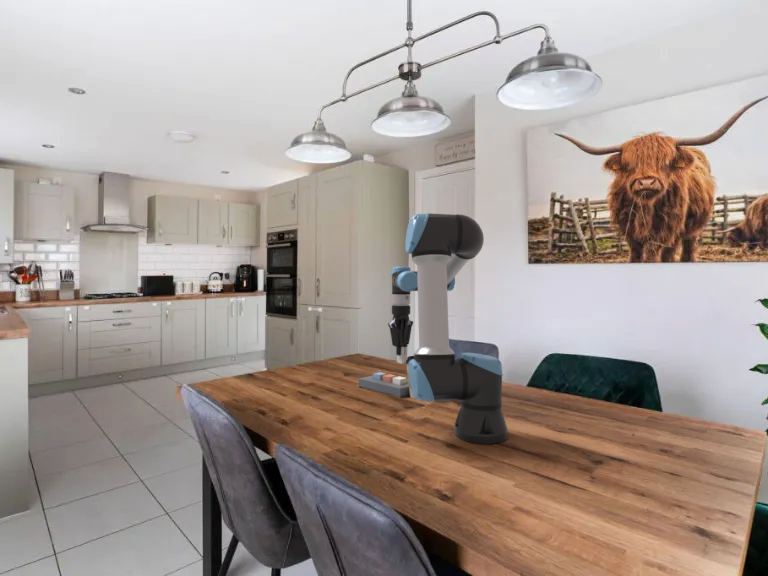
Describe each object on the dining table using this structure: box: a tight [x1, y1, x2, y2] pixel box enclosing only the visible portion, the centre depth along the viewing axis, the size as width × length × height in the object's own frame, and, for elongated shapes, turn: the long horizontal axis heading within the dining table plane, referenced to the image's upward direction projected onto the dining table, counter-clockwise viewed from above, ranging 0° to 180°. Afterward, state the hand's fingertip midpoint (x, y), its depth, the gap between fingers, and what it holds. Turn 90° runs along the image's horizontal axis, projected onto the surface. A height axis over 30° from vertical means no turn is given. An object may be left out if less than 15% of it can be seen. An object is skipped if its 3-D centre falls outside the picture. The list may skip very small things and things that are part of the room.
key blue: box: [372, 371, 388, 380], centre depth 179 cm, size 4×4×2 cm
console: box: [358, 375, 410, 399], centre depth 176 cm, size 13×23×4 cm, turn 46°
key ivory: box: [393, 376, 408, 385], centre depth 172 cm, size 4×4×2 cm
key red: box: [383, 373, 398, 383], centre depth 176 cm, size 4×4×2 cm
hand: (400, 362), depth 175 cm, fingers closed
